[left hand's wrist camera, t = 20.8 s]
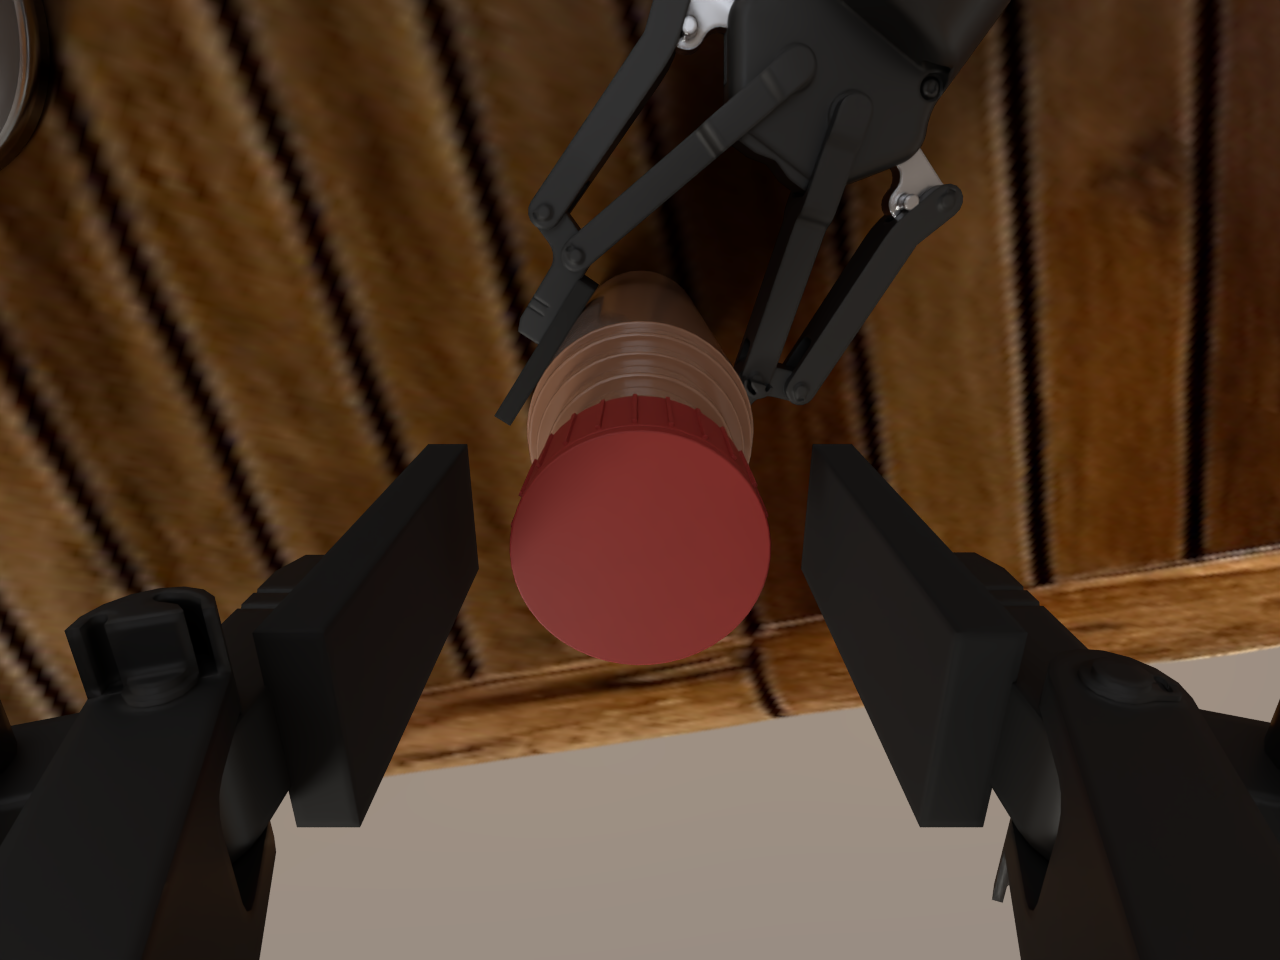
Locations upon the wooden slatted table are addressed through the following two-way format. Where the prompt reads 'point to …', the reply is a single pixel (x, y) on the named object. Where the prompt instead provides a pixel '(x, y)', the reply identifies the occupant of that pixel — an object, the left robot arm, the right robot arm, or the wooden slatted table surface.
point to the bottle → (640, 360)
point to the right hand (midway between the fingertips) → (575, 453)
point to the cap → (640, 532)
